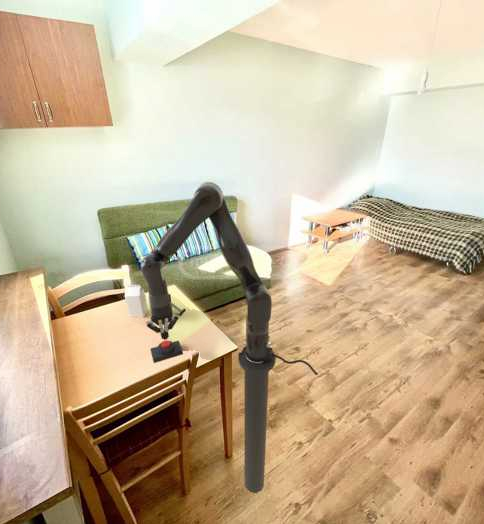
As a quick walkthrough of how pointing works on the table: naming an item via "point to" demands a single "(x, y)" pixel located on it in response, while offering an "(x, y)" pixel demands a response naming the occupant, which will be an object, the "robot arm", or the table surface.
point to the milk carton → (136, 301)
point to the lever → (178, 309)
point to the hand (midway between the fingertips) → (165, 338)
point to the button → (165, 344)
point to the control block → (166, 352)
